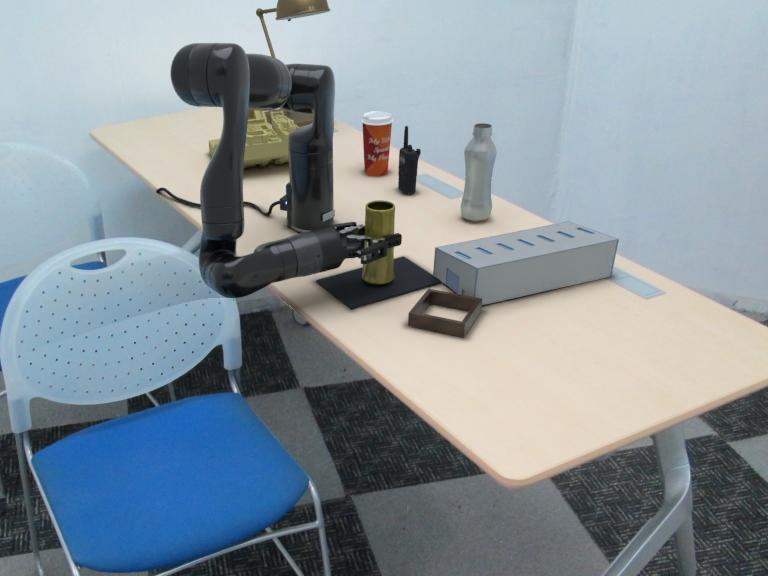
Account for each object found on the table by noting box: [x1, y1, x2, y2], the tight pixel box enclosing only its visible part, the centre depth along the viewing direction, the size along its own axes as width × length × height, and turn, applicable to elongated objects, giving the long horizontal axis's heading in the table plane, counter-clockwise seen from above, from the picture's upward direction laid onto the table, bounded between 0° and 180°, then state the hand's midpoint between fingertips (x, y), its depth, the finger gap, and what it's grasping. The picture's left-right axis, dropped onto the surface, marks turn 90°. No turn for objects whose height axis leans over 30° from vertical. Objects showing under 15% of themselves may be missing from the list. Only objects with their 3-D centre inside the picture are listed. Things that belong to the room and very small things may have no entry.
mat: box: [315, 256, 443, 310], centre depth 162 cm, size 20×13×1 cm, turn 118°
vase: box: [362, 199, 396, 284], centre depth 157 cm, size 6×6×14 cm
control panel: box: [208, 109, 299, 170], centre depth 217 cm, size 24×16×20 cm
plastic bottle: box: [459, 122, 498, 222], centre depth 180 cm, size 6×7×20 cm
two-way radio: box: [397, 125, 422, 195], centre depth 196 cm, size 6×4×15 cm
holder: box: [407, 288, 483, 338], centre depth 149 cm, size 10×10×3 cm
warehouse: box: [432, 221, 620, 306], centre depth 160 cm, size 30×14×8 cm, turn 112°
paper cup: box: [360, 110, 394, 177], centre depth 207 cm, size 8×8×14 cm
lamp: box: [255, 0, 331, 128], centre depth 241 cm, size 15×34×37 cm, turn 29°
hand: (391, 233), depth 157 cm, fingers closed on vase, 5 cm apart
